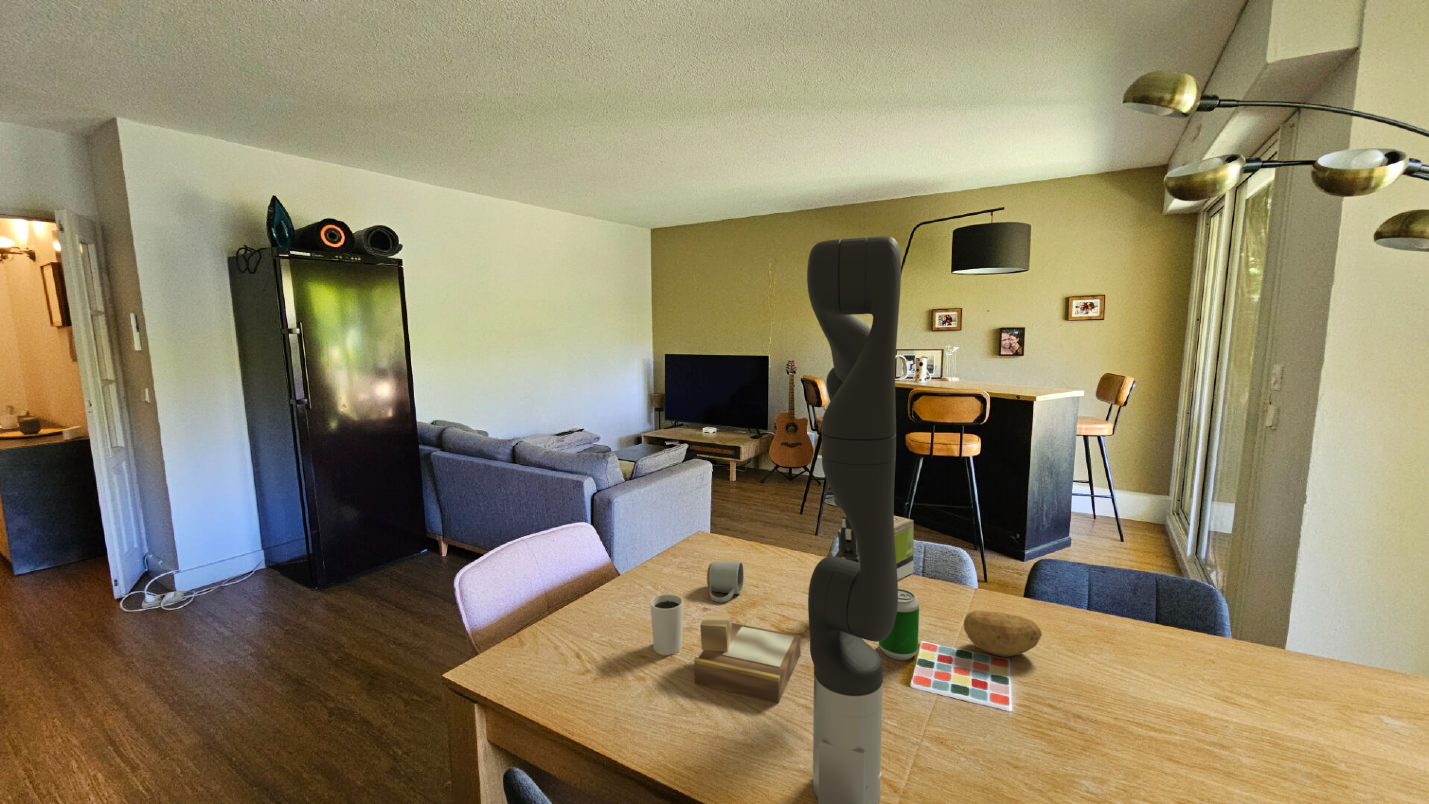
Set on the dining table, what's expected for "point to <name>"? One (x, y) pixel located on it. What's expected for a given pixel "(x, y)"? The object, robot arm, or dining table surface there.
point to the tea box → (904, 545)
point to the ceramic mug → (725, 579)
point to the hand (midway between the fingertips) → (854, 572)
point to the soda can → (903, 628)
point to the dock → (751, 663)
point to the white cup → (667, 623)
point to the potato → (1001, 632)
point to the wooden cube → (716, 632)
